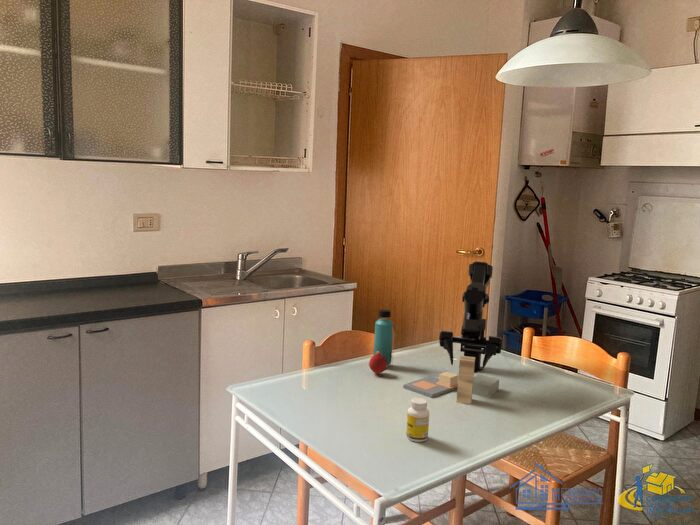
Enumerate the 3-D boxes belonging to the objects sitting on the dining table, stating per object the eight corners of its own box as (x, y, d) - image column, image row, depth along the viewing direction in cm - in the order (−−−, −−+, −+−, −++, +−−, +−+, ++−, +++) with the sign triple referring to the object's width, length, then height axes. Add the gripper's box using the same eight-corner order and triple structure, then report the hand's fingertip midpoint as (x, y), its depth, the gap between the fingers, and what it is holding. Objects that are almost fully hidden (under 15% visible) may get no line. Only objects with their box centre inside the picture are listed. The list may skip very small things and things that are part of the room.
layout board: (431, 378, 193) (432, 366, 193) (461, 387, 185) (462, 375, 185) (403, 387, 182) (404, 375, 182) (433, 398, 175) (434, 385, 174)
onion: (386, 372, 196) (387, 349, 195) (385, 378, 191) (387, 354, 190) (369, 371, 197) (370, 348, 196) (367, 376, 191) (369, 353, 190)
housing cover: (477, 384, 189) (478, 374, 188) (498, 389, 185) (499, 379, 185) (466, 392, 181) (467, 381, 181) (488, 397, 178) (489, 386, 177)
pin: (457, 397, 177) (460, 355, 175) (471, 399, 175) (475, 357, 174) (456, 402, 173) (459, 359, 171) (470, 404, 171) (474, 361, 170)
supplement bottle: (404, 433, 149) (406, 396, 147) (425, 433, 149) (427, 396, 148) (408, 442, 143) (410, 404, 142) (429, 442, 144) (432, 404, 143)
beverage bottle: (391, 369, 200) (395, 312, 197) (372, 368, 200) (375, 311, 197) (390, 364, 206) (394, 308, 204) (372, 363, 206) (375, 307, 204)
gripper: (442, 305, 181) (435, 348, 171) (504, 311, 176) (500, 356, 167) (443, 324, 189) (436, 367, 180) (502, 331, 184) (498, 375, 175)
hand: (467, 366), depth 175 cm, fingers open, 9 cm apart
